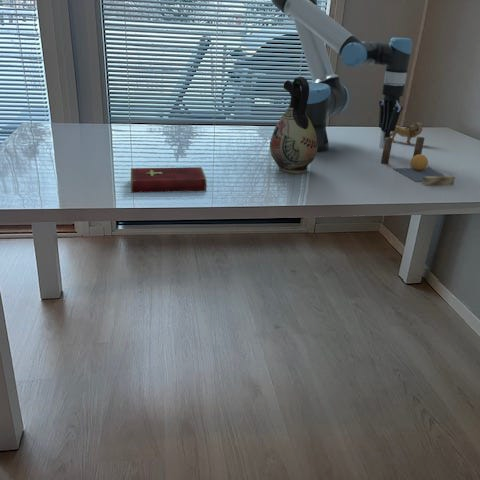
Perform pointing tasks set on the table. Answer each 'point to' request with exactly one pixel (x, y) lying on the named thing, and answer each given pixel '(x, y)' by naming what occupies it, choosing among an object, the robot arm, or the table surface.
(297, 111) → the ceramic jug
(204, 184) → the hardcover book
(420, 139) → the right post
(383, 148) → the left post
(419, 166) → the ball
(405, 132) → the lion figurine
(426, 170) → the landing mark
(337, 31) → the robot arm
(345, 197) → the table surface
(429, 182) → the rail
